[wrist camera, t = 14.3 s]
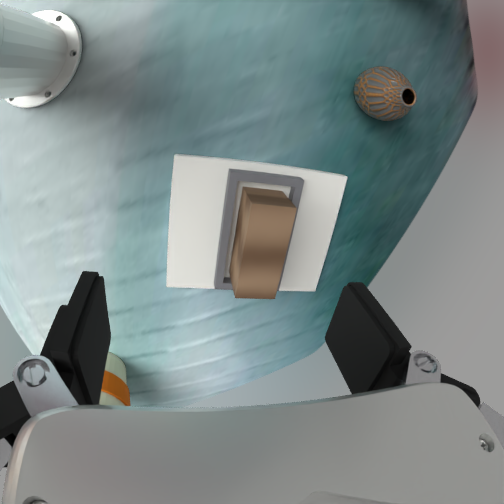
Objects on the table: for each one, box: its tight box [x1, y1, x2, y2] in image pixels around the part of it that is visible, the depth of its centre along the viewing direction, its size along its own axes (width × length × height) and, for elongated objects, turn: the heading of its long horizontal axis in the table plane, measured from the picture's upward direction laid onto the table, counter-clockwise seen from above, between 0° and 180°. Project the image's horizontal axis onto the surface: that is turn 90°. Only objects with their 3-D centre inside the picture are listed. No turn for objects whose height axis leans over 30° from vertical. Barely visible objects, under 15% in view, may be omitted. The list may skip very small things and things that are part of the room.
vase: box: [354, 67, 417, 121], centre depth 32 cm, size 7×7×9 cm
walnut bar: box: [229, 186, 297, 299], centre depth 39 cm, size 12×5×6 cm, turn 170°
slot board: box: [167, 154, 347, 291], centre depth 41 cm, size 22×18×2 cm
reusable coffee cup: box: [99, 352, 130, 406], centre depth 43 cm, size 13×13×15 cm
